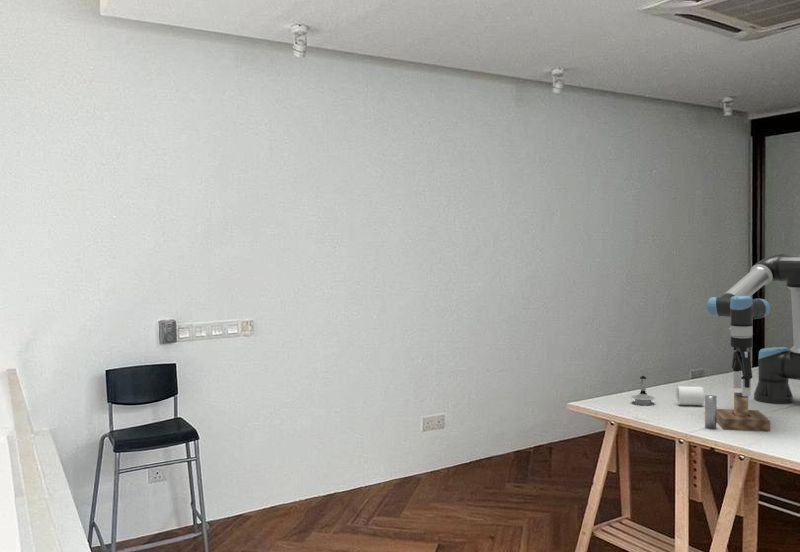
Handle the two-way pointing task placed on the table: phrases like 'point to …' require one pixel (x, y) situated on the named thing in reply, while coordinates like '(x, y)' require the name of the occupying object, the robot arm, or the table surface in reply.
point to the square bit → (740, 405)
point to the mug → (690, 395)
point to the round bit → (710, 411)
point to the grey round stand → (643, 396)
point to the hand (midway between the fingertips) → (741, 391)
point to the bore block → (742, 420)
